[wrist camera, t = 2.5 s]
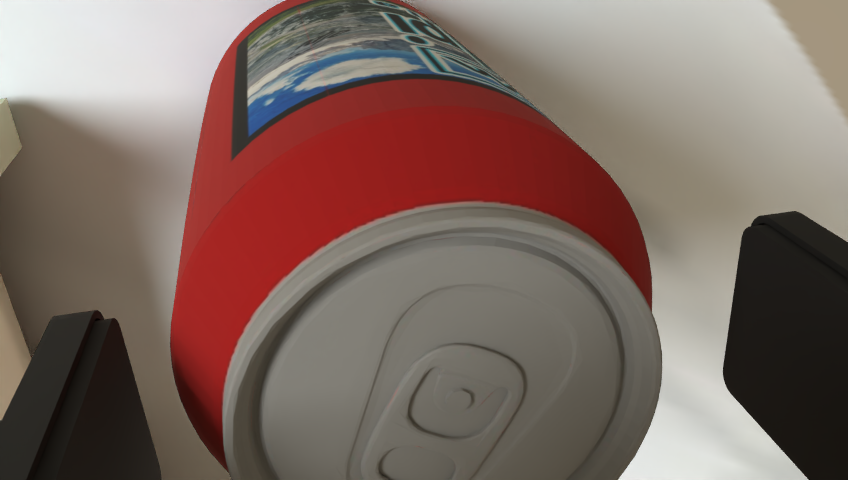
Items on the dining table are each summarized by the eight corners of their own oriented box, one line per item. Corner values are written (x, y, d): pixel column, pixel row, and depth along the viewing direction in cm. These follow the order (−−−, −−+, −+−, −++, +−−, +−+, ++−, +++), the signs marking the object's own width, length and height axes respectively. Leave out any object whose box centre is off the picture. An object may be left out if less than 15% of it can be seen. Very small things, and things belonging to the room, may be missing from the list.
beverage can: (512, 52, 20) (822, 275, 9) (399, 266, 22) (543, 646, 11) (267, -72, 17) (302, 38, 7) (167, 184, 19) (71, 575, 9)
